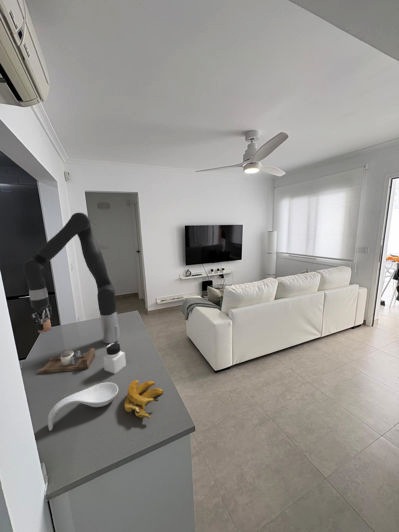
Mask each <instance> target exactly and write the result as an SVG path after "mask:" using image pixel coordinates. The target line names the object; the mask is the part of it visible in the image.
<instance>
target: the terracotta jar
mask: <svg viewBox="0 0 399 532" xmlns="http://www.w3.org/2000/svg"><path fill="white" fill-rule="evenodd" d="M39 320H40V319H39ZM43 327H44V330H43V331H39V330H37V331H38V333H41V334H43V333H46V332H49V331H51V330H52V323H51V318H48V317H46V318H44V319H43Z"/></svg>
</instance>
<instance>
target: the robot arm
mask: <svg viewBox="0 0 399 532" xmlns="http://www.w3.org/2000/svg"><path fill="white" fill-rule="evenodd" d="M75 236H77V237H78V239H79V242H80V247H81V253H82V256H83V259H84V262H85V265H86V267H87V269H88V270H89V272H90V274H91V275H92V277H93V278H94V281H95V284H96V287H97V298H96V299H97V304H98V310H99V317H100V325H101V335H102V342H103V343H104V344H112V343H117V342H119V341H120V338H121V330H120V322H119V319H118V308H117V301H116V290H115V287H114V286H113V283H112V282H111V279H110V278H109V277H110V276H109V274H108V270H107V266H106V262H105V259H104V257H103V254H102V251H101V248H100V246H99V245H98V242H97V241H96V239H95V237H94V233H93V230H92V226H91V221H90V218H89V216H88V215H87V214H85V213H83V212H75V213H73V214H72V215H71V216H70V218H69V220H68V221H67V222H66V224H64V226H63V227H62V228H61V229H60V230H59V232H58V233H56V234H55V235H54V236H52V238H50V239H49V240H48V241H47V242H46V243H45V244H44V245H43V246H42V247H40V249H38V251H37V252H36V253H35V254H34V255H33V256H32V257H31V258H29V259H28V260H26V261H24V263H23V265H22V266H23V267H22V269H23V272H24V276H25V278H26V281H27V287H28V294H29V295H28V296H29V301H30V305H31V308H33V309H34V313H31V314H30V317H31V321H32V322H33V323H32V324H33V325H36V326H37V329H38V330H39V331H43V330H44V327H43V319H44V318H46V317H48V318H49V319H51V317H52V315H53V314H52V313H53V311H52V310H53V309H52V305H51V304H50V300H49V294H48V293H49V292H48V289H47V285H46V279H45V278H44V277H43V273H42V269H43V268H45V266H46V265H47V264H48V263H49V261H51V260H52V259H54V257H56V256H57V255H58V253H60V252H61V251H62V250H63V249H64V248H65V246H66V245H68V243H69V242H70V241H71V240H72V239H73V238H75ZM39 319H40V320H39ZM38 330H37V331H38ZM39 331H38V332H39Z"/></svg>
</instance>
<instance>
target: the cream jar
mask: <svg viewBox="0 0 399 532" xmlns="http://www.w3.org/2000/svg"><path fill="white" fill-rule="evenodd" d="M74 353H75V352H74V351H73V349H68V350H67V349H66V350H65V351H62V352H61V354H60V357H61V362H62V367H66V366H71V365H72V357H73V354H74Z"/></svg>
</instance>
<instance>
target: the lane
mask: <svg viewBox="0 0 399 532" xmlns="http://www.w3.org/2000/svg"><path fill="white" fill-rule="evenodd" d="M95 358H96V351H95V347H93V348H89V350H88V351H87V352H86V353H85V354H82V355H81V359H80V361H79V362H78V364H77V365H76V366H72V365H71V366H66V367H62V362H61V356H57V357H50V358H49V359H48V362H47V363H46V364H45V365H44V367H42V368H39V370H38V374H48V373H49V374H51V373H58V372H59V373H61V372H69V371H79V370H81V371H82V370H88V369H89V368H90V366H91V364H92V363H93V361H95V360H94V359H95Z"/></svg>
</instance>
